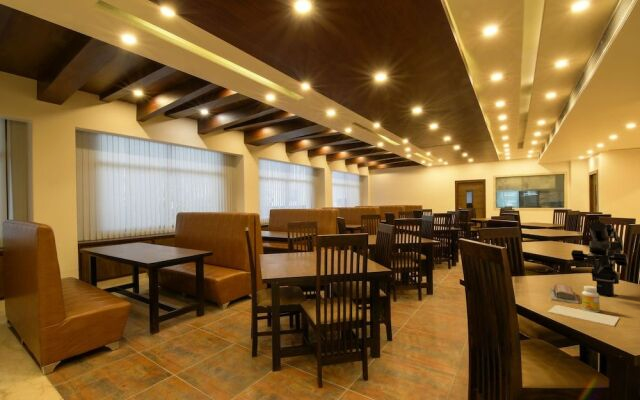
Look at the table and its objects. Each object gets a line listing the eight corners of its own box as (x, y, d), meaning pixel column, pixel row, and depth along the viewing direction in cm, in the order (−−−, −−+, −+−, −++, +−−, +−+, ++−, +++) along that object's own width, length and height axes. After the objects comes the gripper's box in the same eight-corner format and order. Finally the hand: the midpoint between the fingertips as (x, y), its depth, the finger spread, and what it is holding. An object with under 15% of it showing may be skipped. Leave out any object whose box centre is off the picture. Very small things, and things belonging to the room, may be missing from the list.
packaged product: (549, 282, 155) (574, 284, 149) (549, 291, 155) (574, 294, 149) (550, 291, 140) (578, 294, 135) (551, 301, 140) (579, 305, 135)
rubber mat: (556, 305, 133) (556, 304, 133) (619, 318, 118) (619, 317, 118) (547, 312, 126) (547, 311, 126) (613, 326, 110) (613, 325, 110)
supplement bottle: (579, 308, 129) (578, 285, 130) (590, 307, 130) (589, 284, 130) (591, 312, 124) (590, 289, 124) (603, 312, 124) (602, 288, 125)
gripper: (571, 233, 146) (566, 259, 139) (626, 235, 131) (623, 264, 124) (576, 247, 151) (571, 273, 144) (629, 251, 136) (626, 280, 129)
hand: (596, 272), depth 135 cm, fingers closed
